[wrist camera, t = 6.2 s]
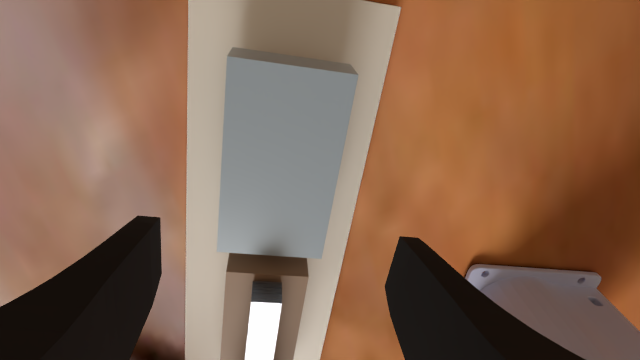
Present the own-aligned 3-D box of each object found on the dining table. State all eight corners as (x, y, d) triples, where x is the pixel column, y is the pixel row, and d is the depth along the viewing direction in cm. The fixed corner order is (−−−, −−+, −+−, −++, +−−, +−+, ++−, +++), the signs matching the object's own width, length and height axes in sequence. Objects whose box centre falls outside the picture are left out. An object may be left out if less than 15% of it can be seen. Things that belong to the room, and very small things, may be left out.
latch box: (396, 5, 18) (426, 14, 14) (315, 362, 29) (321, 419, 25) (192, -30, 17) (168, -30, 13) (187, 358, 28) (173, 419, 24)
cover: (350, 64, 17) (358, 74, 15) (317, 235, 21) (321, 259, 20) (232, 46, 16) (226, 56, 15) (221, 227, 20) (216, 251, 19)
